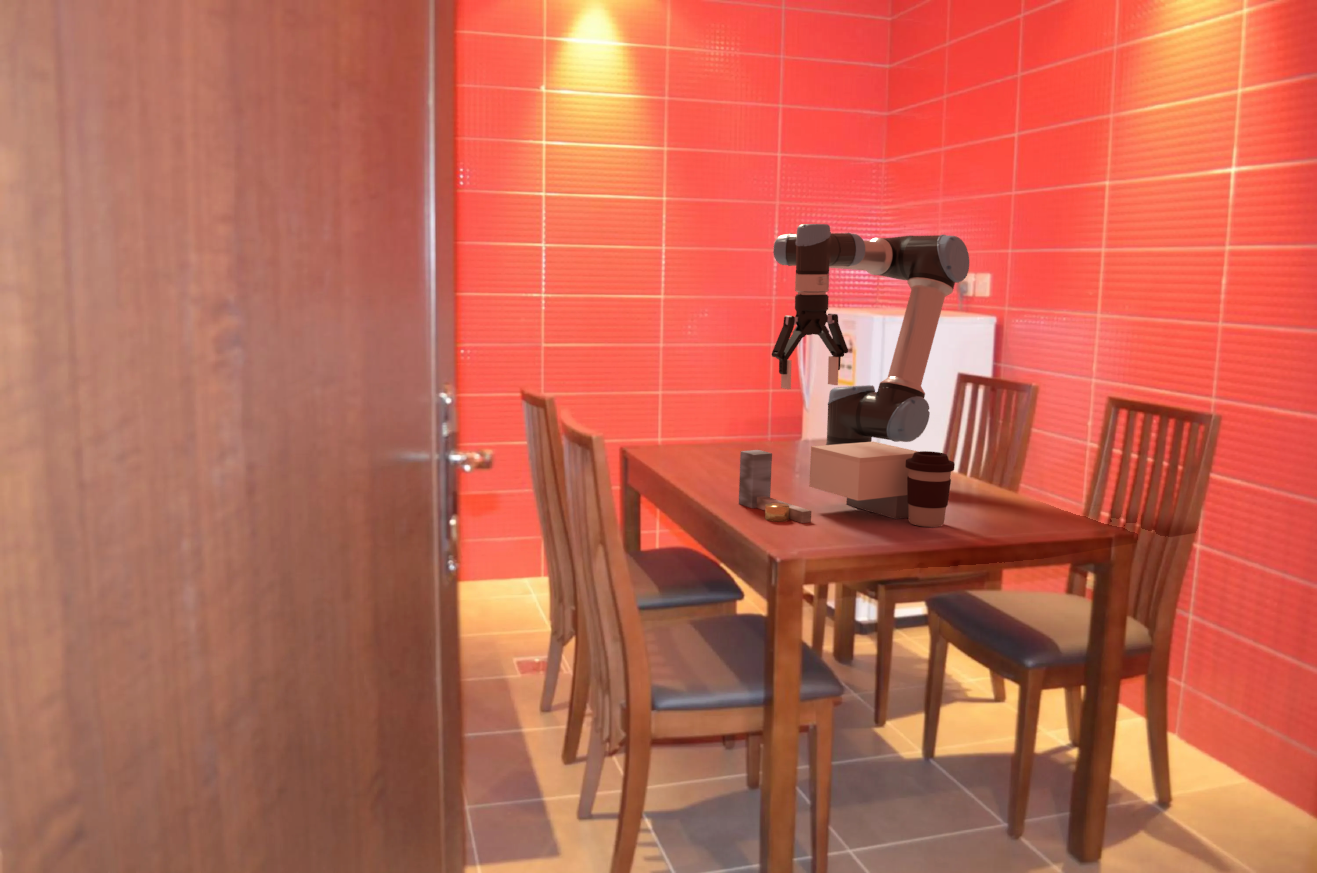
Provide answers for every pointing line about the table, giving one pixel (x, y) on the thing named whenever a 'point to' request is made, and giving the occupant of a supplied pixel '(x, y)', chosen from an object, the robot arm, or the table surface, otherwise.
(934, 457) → the coffee cup
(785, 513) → the cylinder
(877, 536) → the table surface
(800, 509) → the grey l-shaped bracket
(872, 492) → the beige grey overhanging block
